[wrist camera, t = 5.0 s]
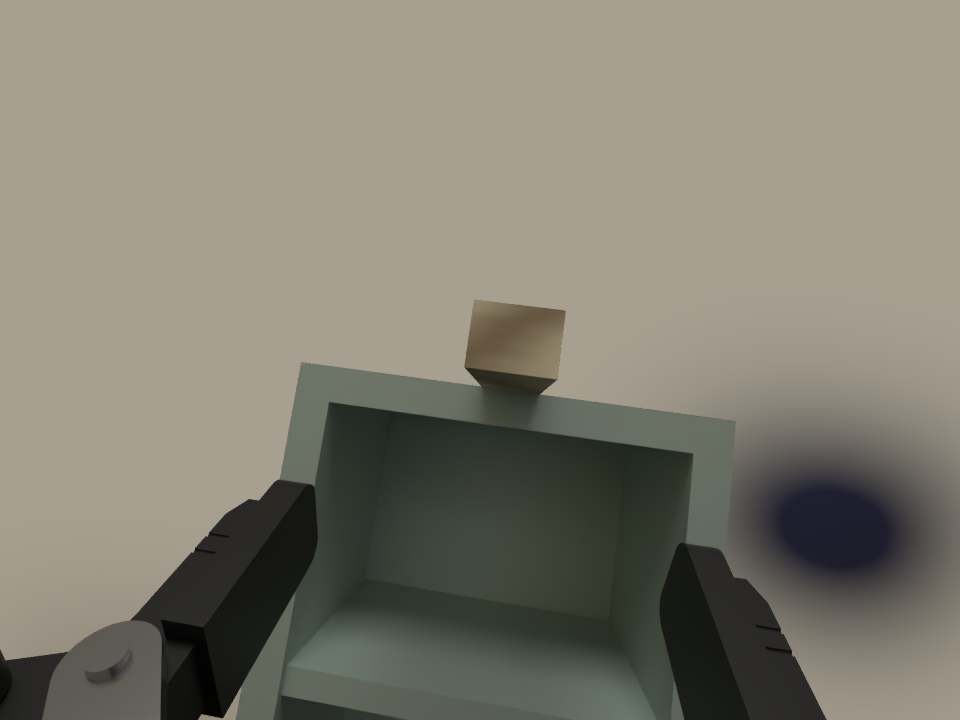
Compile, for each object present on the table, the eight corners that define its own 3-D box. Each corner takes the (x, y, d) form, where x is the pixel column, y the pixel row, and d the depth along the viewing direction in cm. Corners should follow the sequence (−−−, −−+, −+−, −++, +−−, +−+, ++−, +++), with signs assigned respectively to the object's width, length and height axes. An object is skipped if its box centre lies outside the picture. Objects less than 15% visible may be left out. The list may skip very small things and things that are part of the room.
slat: (528, 403, 42) (532, 376, 42) (557, 379, 16) (565, 310, 16) (492, 398, 42) (496, 372, 42) (464, 367, 16) (474, 299, 17)
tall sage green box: (609, 826, 37) (649, 420, 41) (681, 1125, 22) (735, 421, 25) (315, 766, 39) (378, 383, 43) (184, 1000, 24) (301, 362, 27)
